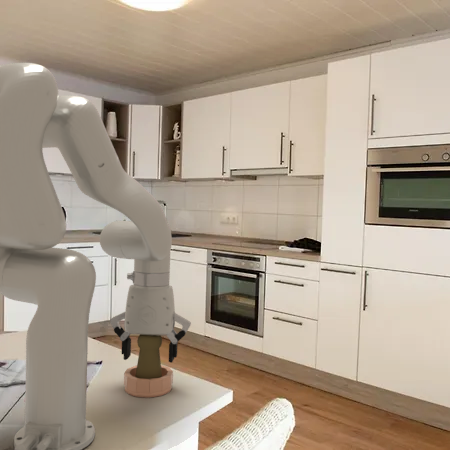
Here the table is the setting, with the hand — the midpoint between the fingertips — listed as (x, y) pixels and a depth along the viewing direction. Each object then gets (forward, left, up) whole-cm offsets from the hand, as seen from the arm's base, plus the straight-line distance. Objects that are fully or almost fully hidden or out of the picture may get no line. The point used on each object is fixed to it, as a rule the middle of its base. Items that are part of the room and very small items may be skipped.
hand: (149, 359), depth 102 cm
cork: (0, 0, -6) cm, 6 cm away
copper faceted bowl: (0, 0, -6) cm, 6 cm away
